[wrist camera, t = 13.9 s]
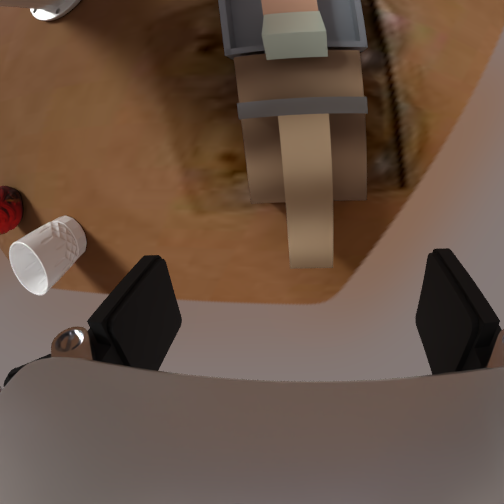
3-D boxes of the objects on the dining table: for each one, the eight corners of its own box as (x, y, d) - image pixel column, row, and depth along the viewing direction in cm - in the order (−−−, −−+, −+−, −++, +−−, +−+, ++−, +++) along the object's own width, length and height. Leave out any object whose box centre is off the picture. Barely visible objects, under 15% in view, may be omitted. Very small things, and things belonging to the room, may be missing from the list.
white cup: (97, 235, 40) (53, 271, 31) (81, 268, 43) (42, 305, 34) (60, 201, 38) (13, 229, 29) (47, 237, 42) (6, 268, 33)
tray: (222, -21, 22) (214, -31, 20) (348, -31, 20) (351, -41, 17) (232, 59, 27) (224, 55, 24) (362, 52, 24) (367, 47, 22)
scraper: (251, 102, 25) (236, 103, 20) (353, 97, 23) (366, 96, 18) (265, 238, 31) (256, 268, 26) (356, 235, 29) (366, 267, 24)
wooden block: (242, 62, 27) (233, 57, 23) (352, 56, 25) (359, 50, 21) (257, 191, 33) (250, 203, 30) (360, 188, 31) (366, 200, 27)
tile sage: (268, 36, 24) (263, 14, 22) (321, 33, 23) (319, 10, 21) (266, 60, 22) (261, 35, 20) (327, 56, 21) (326, 31, 19)
